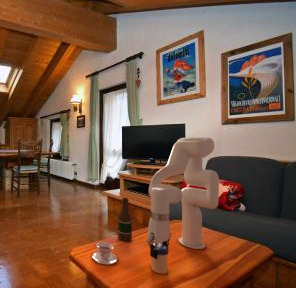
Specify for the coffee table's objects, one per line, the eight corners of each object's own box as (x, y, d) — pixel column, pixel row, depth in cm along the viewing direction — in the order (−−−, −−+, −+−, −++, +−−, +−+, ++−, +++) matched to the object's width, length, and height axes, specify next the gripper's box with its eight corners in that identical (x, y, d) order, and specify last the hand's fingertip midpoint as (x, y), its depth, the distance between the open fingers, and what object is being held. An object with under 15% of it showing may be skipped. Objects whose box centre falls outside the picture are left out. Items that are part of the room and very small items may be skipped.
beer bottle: (132, 242, 122) (133, 200, 122) (118, 241, 124) (118, 199, 123) (130, 236, 130) (131, 197, 129) (117, 235, 131) (117, 196, 131)
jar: (157, 263, 101) (157, 243, 101) (170, 270, 95) (170, 249, 95) (147, 267, 98) (148, 246, 98) (161, 275, 92) (161, 253, 92)
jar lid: (147, 250, 97) (148, 245, 97) (155, 245, 101) (155, 241, 101) (163, 256, 92) (163, 252, 92) (170, 251, 96) (170, 247, 96)
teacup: (119, 255, 108) (119, 243, 108) (114, 267, 97) (115, 254, 97) (95, 250, 113) (95, 238, 113) (89, 261, 103) (89, 248, 102)
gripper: (163, 210, 104) (163, 246, 104) (139, 216, 95) (139, 256, 95) (179, 215, 97) (178, 254, 98) (155, 222, 89) (154, 264, 89)
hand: (159, 254), depth 97 cm, fingers closed on jar lid, 7 cm apart
